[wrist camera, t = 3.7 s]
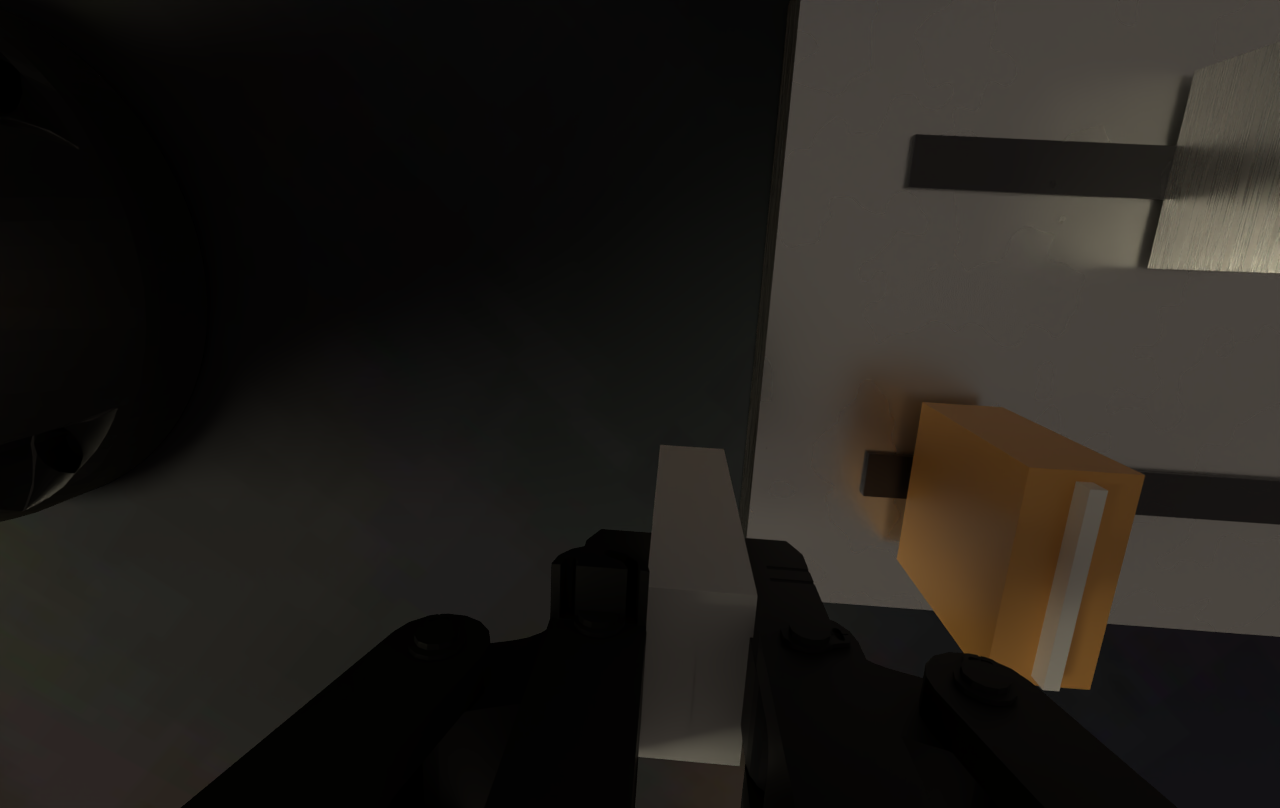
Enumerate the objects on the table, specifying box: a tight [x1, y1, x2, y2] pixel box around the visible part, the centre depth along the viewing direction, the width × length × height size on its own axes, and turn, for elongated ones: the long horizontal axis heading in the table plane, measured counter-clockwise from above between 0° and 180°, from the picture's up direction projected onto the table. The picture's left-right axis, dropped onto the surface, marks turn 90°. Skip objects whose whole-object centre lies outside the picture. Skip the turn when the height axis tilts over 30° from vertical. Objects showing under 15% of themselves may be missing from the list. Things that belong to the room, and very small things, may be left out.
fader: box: [897, 402, 1145, 691], centre depth 14 cm, size 2×4×5 cm, turn 177°
